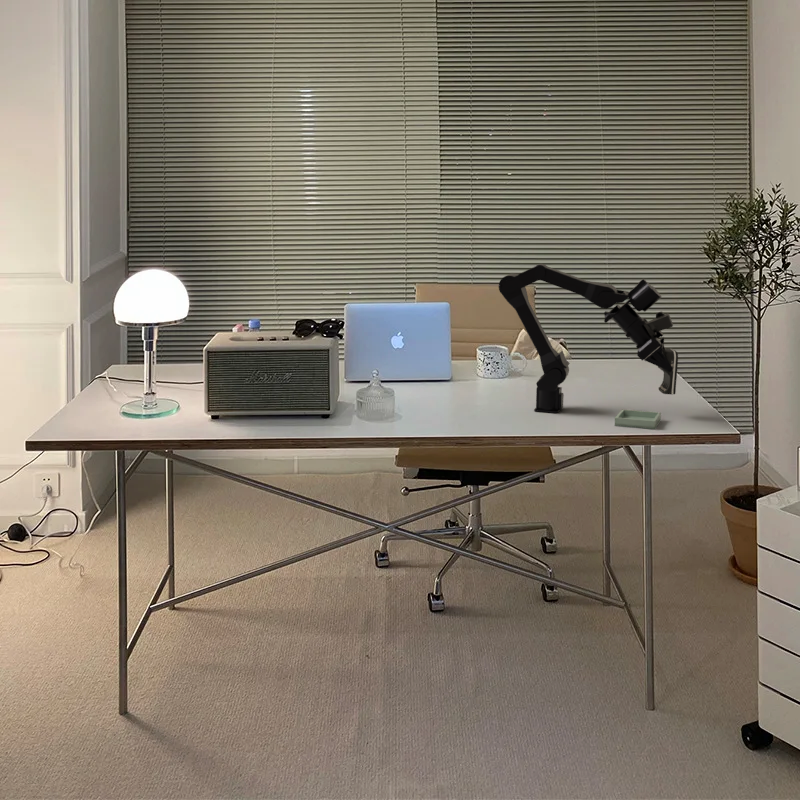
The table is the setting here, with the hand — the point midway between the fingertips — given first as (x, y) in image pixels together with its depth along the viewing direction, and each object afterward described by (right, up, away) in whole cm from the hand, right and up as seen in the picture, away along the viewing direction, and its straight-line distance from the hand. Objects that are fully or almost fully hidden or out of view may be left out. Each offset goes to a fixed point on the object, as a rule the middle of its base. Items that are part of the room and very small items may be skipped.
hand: (672, 367), depth 272 cm
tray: (-10, -14, -3) cm, 18 cm away
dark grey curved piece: (-1, -7, +2) cm, 7 cm away
